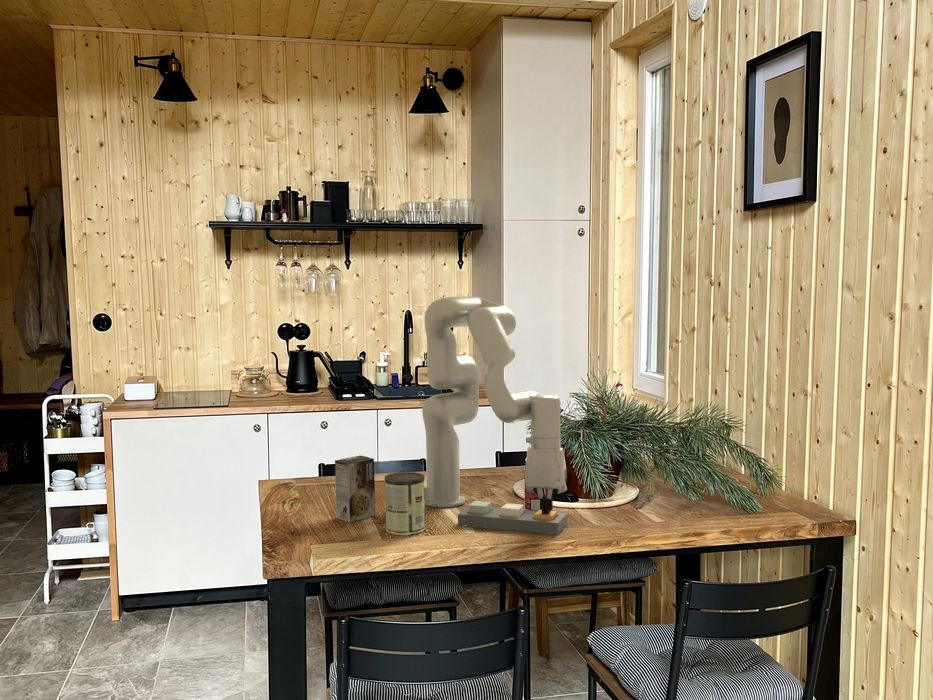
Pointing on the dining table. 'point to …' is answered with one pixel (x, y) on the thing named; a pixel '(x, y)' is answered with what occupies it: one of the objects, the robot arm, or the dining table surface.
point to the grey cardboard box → (355, 488)
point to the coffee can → (405, 503)
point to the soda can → (532, 499)
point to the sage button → (480, 507)
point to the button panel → (514, 521)
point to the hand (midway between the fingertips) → (546, 512)
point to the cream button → (512, 510)
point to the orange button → (545, 515)
